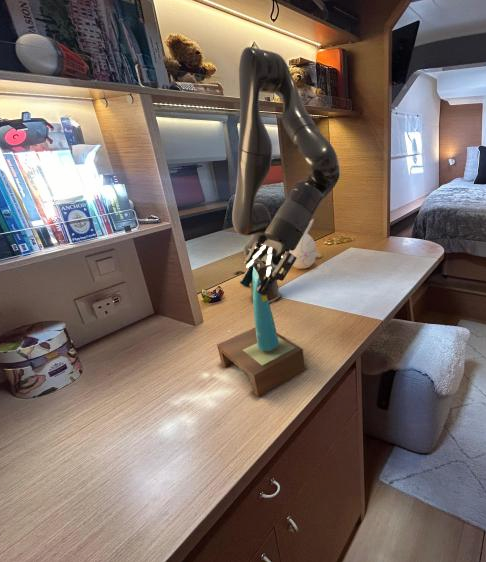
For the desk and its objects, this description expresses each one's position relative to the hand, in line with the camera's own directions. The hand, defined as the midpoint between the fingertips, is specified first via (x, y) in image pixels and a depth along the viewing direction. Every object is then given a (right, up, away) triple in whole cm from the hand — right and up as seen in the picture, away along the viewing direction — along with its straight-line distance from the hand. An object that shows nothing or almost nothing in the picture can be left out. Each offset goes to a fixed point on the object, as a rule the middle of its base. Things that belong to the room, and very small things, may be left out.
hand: (251, 289), depth 74 cm
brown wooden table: (-1, -20, +11) cm, 23 cm away
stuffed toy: (0, +9, +77) cm, 77 cm away
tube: (+2, -14, +7) cm, 16 cm away
